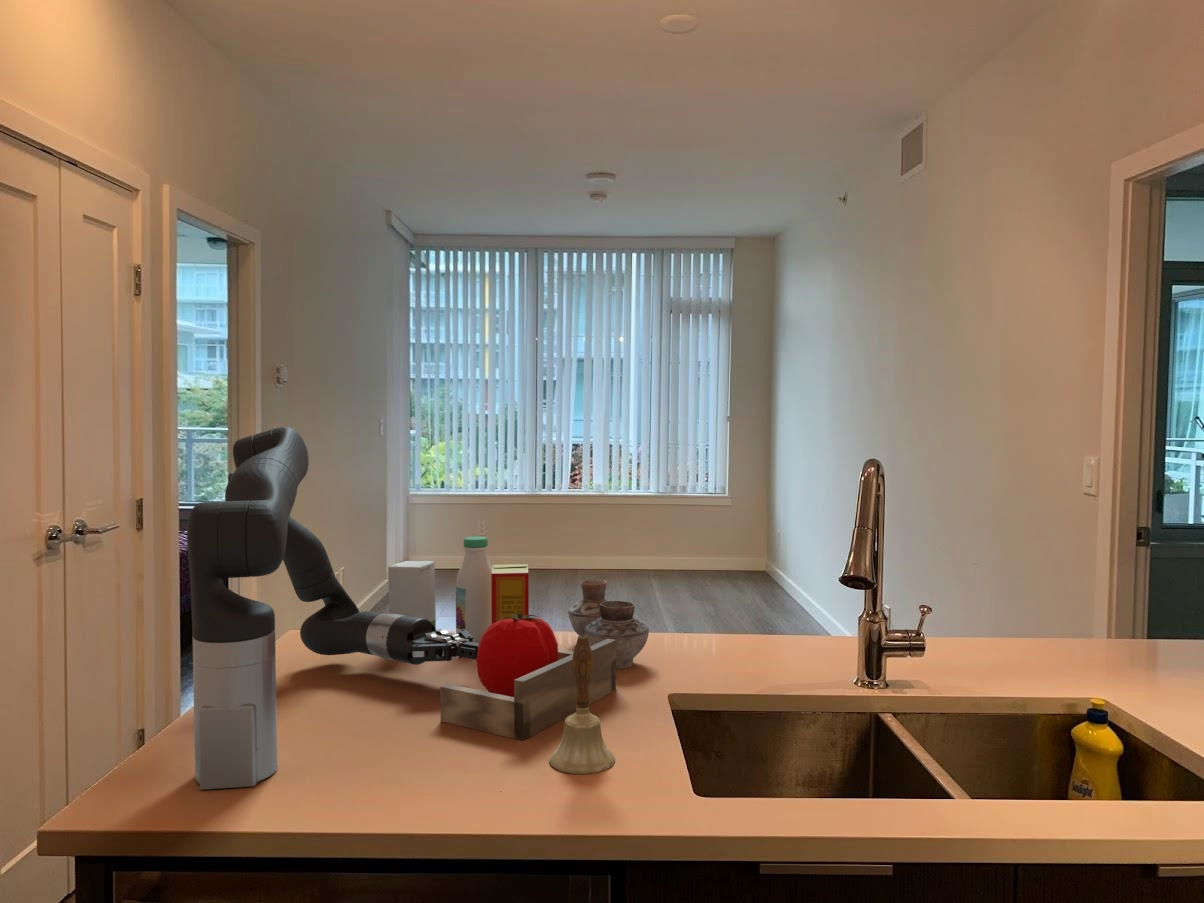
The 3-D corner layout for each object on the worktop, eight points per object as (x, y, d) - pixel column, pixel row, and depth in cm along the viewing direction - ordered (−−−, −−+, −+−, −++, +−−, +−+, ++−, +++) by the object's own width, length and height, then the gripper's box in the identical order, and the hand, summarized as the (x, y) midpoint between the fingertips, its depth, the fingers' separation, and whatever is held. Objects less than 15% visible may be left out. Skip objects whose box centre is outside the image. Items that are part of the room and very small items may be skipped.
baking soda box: (528, 660, 155) (528, 570, 154) (491, 661, 154) (491, 571, 154) (528, 646, 164) (527, 561, 164) (493, 647, 164) (492, 562, 163)
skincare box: (419, 651, 161) (419, 567, 160) (386, 649, 162) (385, 566, 161) (437, 640, 169) (436, 560, 168) (405, 638, 170) (404, 559, 169)
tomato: (490, 718, 125) (489, 626, 125) (467, 692, 137) (466, 608, 136) (572, 706, 130) (572, 618, 130) (543, 682, 142) (543, 601, 141)
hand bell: (628, 761, 110) (628, 636, 109) (580, 780, 104) (580, 648, 103) (583, 743, 116) (583, 624, 115) (535, 761, 110) (535, 635, 109)
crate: (440, 721, 124) (440, 665, 124) (540, 675, 146) (540, 628, 145) (523, 740, 117) (523, 681, 116) (616, 689, 138) (616, 639, 138)
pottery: (613, 635, 173) (613, 575, 172) (658, 671, 149) (658, 601, 148) (557, 639, 169) (557, 578, 169) (595, 676, 146) (595, 605, 145)
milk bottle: (500, 636, 172) (499, 535, 171) (491, 646, 164) (490, 540, 163) (461, 635, 172) (461, 534, 172) (451, 645, 165) (450, 540, 164)
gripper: (371, 624, 139) (455, 638, 130) (427, 608, 150) (509, 619, 141) (371, 670, 139) (456, 687, 130) (428, 651, 150) (509, 665, 142)
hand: (483, 652), depth 136 cm, fingers closed
